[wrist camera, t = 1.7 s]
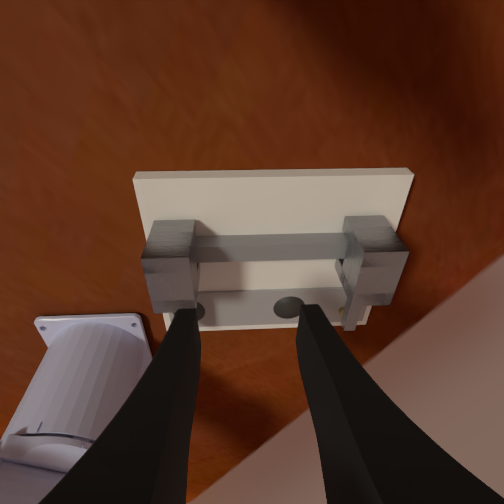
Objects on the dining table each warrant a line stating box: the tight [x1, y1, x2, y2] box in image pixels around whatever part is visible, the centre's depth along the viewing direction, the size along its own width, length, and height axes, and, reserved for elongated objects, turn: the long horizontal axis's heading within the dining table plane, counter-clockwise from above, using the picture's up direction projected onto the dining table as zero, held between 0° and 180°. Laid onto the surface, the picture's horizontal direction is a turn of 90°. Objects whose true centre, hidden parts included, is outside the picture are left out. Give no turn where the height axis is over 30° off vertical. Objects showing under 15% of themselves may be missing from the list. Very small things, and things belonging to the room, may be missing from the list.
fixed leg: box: [141, 219, 200, 313], centre depth 21 cm, size 8×2×4 cm, turn 0°
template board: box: [133, 168, 414, 331], centre depth 23 cm, size 13×16×2 cm
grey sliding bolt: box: [335, 215, 410, 331], centre depth 21 cm, size 8×2×4 cm, turn 0°
